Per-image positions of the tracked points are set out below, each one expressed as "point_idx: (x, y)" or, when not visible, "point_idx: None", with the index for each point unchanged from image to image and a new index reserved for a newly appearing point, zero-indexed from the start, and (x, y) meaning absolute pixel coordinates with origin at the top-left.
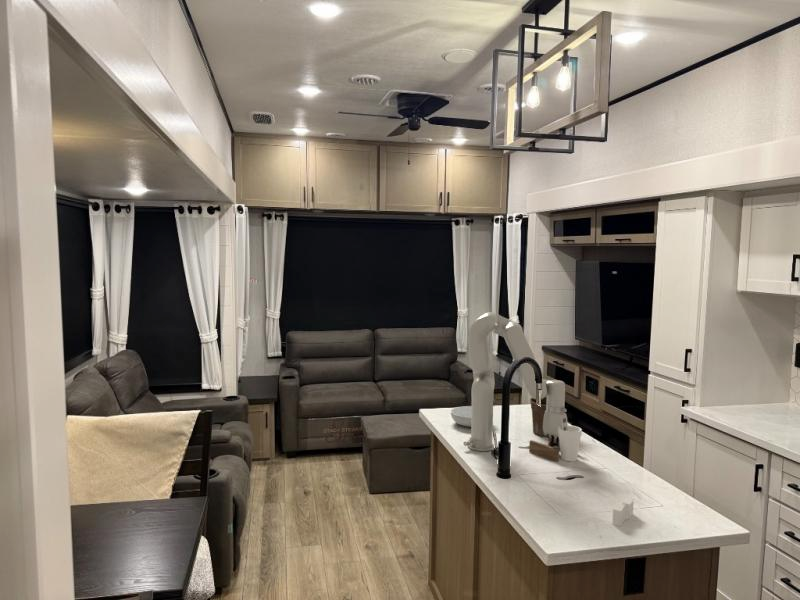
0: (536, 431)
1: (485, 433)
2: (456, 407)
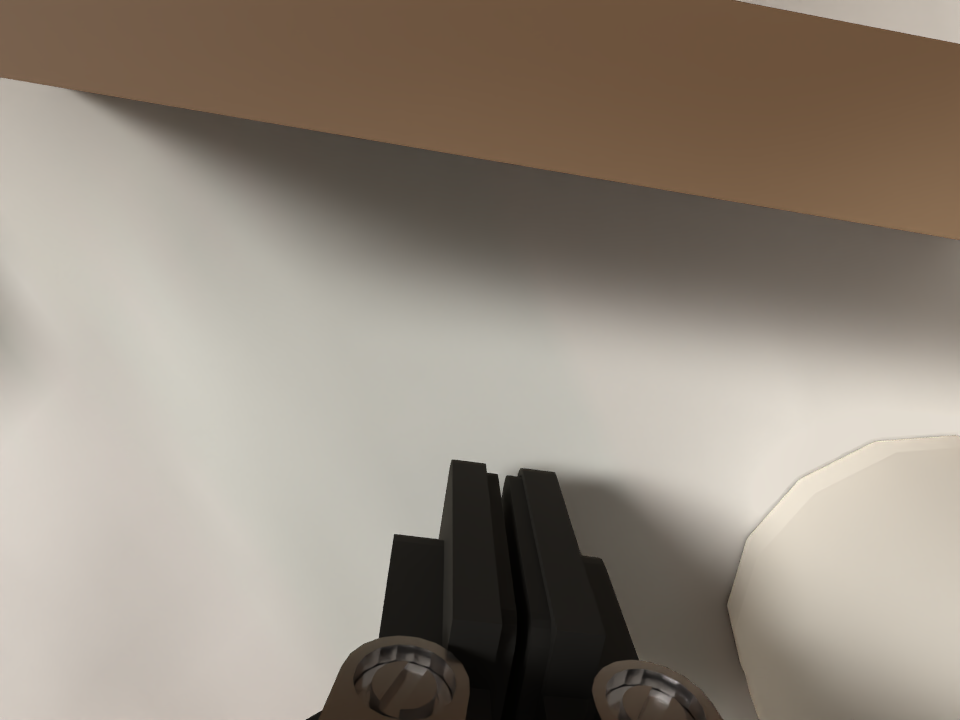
0: None
1: None
2: None
